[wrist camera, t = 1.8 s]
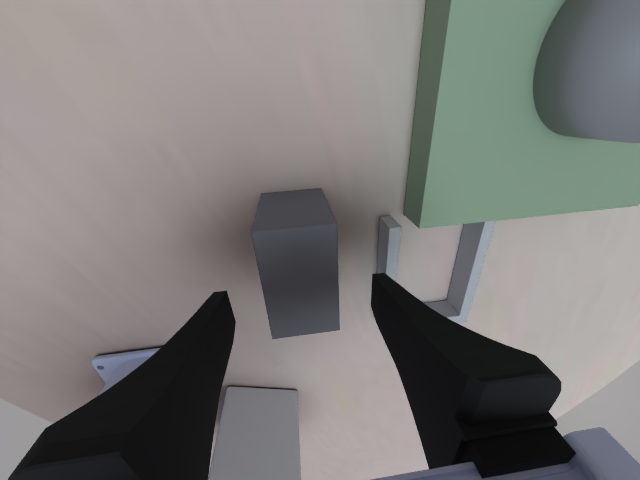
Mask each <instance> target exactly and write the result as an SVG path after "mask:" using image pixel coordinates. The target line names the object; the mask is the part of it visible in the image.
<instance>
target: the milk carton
mask: <svg viewBox="0 0 640 480" xmlns="http://www.w3.org/2000/svg"><path fill="white" fill-rule="evenodd" d="M208 480H301V466H300V443H299V419H298V395H297V391H295V390H281V389H264V388H247V387H228V388H227V390H226V395H225V400H224V404H223V409H222V414H221V419H220V424H219V428H218V433H217V438H216V443H215V448H214V453H213V457H212V462H211V467H210V472H209V477H208Z"/></svg>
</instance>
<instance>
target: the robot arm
mask: <svg viewBox="0 0 640 480" xmlns="http://www.w3.org/2000/svg"><path fill="white" fill-rule="evenodd" d="M371 307H372V310H373V313H374V317H375V320H376V323H377V325H378V327H379V330H380V332H381V334H382V336H383V338H384V341H385V343H386V345H387V347H388V349H389V351H390V354H391V356H392V358H393V360H394V362H395V365H396V367H397V369H398V372H399V375H400V377H401V380H402V383H403V386H404V389H405V392H406V395H407V398H408V401H409V404H410V407H411V410H412V413H413V416H414V420H415V423H416V426H417V429H418V432H419V436H420V439H421V442H422V446H423V449H424V453H425V456H426V460H427V463H428V467H429V469H428V470H422V471H417V472H411V473H406V474H400V475H394V476H389V477H383V478H377V479H372V480H640V464H639V463H638V462H637V461H636V460H635V459H634V458H633V457H632V456H631V455H630V454H629V453H628V452H627V451H626V450H625V449H624V448H623V447H622V446H621V445H620V444H619V443H618V442H617V441H616V440H615V439H614V438H613V437H612V436H611V435H610V434H609V433H608V432H607V431H606V429H604V428H601V427H599V428H593V429H587V430H581V431H575V432H572V433H569V434H567V435H565V436H564V437H562V436H561V434H560V433H559V432H558V431H557V430H556V429H555V426H557V421H556V420H555V419H554V418H553V417H552V415H551V414H550V413H549V410H550V408H551V407H552V405H553V404H554V402H555V401H556V399H557V398H558V396H559V394H560V392H561V381H560V380H559V378H558V377H557V376H556V375H555V374H554V373H553V372H552V371H551V370H550V369H549V368H548V367H547V366H546V365H545V364H544V363H543V362H542V361H541V360H540V359H539V358H538V357H537V356H535V355H532V354H530V353H527V352H524V351H521V350H518V349H515V348H512V347H509V346H507V345H504V344H501V343H499V342H497V341H494V340H492V339H489V338H487V337H485V336H482V335H480V334H478V333H476V332H473V331H471V330H469V329H467V328H465V327H463V326H461V325H459V324H457V323H455V322H454V321H452V320H450V319H448V318H447V317H445V316H443V315H441V314H440V313H438V312H436V311H435V310H433V309H432V308H430V307H429V306H427V305H426V304H424V303H423V302H421V301H420V300H419V299H417V298H416V297H414V296H413V295H412V294H410V293H409V292H408V291H407V290H405V289H404V288H403V287H401V286H400V285H399V284H398V283H397V282H395V281H394V280H393V279H392V278H390V277H389V276H388V275H387V274H385V273H377V274H373V276H372V295H371ZM235 323H236V321H235V318H234V315H233V311H232V308H231V304H230V301H229V297H228V294H227V291H221V292H214V293H213V294H212V295H211V296H210V297H209V298H208V299H207V300H206V302H205V303H204V304H203V305H202V306H201V307H200V308H199V309H198V311H197V312H196V313H195V314H194V315H193V316H192V317H191V318H190V319H189V320H188V322H187V323H186V324H185V325H184V326H183V327H182V328H181V329H180V330H179V331H178V332H177V333H176V334H175V335H174V336H173V337H172V338H171V339H170V340H169V341H168V342H167V343H166V344H165V345H163V346H162V347H161V348H155V349H148V350H140V351H133V352H125V353H118V354H110V355H102V356H96V357H94V359H93V360H92V361H91V364H92V365H93V367H94V368H95V370H96V371H97V372H98V374H99V375H100V376H101V378H102V379H103V381H104V382H105V383H106V384H105V385H104V387H103V389H102V390H101V392H100V393H99V395H98V396H97V397H96V398H94V399H93V400H91V401H90V402H88V403H87V404H85V405H83V406H82V407H80V408H79V409H77V410H75V411H74V412H72V413H70V414H69V415H67V416H65V417H64V418H62V419H60V420H59V421H57V422H55V423H54V424H52V425H50V426H49V427H47V428H46V429H45V430H44V431H43V432H42V434H41V435H40V436H39V438H38V439H37V440H36V442H35V443H34V444H33V446H32V447H31V449H30V450H29V451H28V453H27V454H26V455H25V457H24V458H23V459H22V461H21V462H20V463H19V465H18V466H17V467H16V469H15V470H14V471H13V473H12V474H11V475H10V477H9V479H8V480H208V474H209V466H210V458H211V449H212V442H213V435H214V427H215V420H216V414H217V408H218V402H219V396H220V392H221V387H222V383H223V379H224V376H225V372H226V368H227V364H228V360H229V356H230V353H231V349H232V345H233V339H234V332H235Z"/></svg>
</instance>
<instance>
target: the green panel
mask: <svg viewBox="0 0 640 480" xmlns="http://www.w3.org/2000/svg"><path fill="white" fill-rule="evenodd" d="M639 203H640V0H426V8H425V18H424V27H423V37H422V46H421V55H420V65H419V74H418V84H417V93H416V103H415V112H414V122H413V131H412V140H411V150H410V159H409V169H408V178H407V188H406V197H405V207H404V215H405V216H406V217H407V218H408V219H409V220H410V221H412V222H413V223H414V224H415V225H416V226H417V227H418V228H419V229H420V228H429V227H439V226H448V225H458V224H464V226H463V231H462V235H461V240H460V244H459V248H458V253H457V257H456V261H455V266H454V270H453V274H452V279H451V283H450V288H449V292H448V296H447V300H444V301H436V302H428V303H424V304H426V305H427V306H429V307H430V308H432V309H433V310H435V311H436V312H438V313H440V314H441V315H443V316H445V317H447V318H448V319H450V320H452V321H454V322H455V323H459V322H466V321H467V318H468V315H469V311H470V308H471V304H472V301H473V298H474V294H475V291H476V287H477V284H478V280H479V277H480V274H481V270H482V267H483V263H484V260H485V256H486V253H487V250H488V246H489V243H490V239H491V236H492V232H493V229H494V225H495V222H496V220H506V219H516V218H525V217H535V216H544V215H554V214H563V213H573V212H583V211H592V210H602V209H611V208H621V207H631V206H638V205H639ZM400 235H401V226H400V225H399V224H398V223H397V222H396V221H395V220H394V219H393V218H392V217H391V216H381V217H380V224H379V241H378V258H377V273H385V274H387V275H388V276H389V277H390V278H392V279H393V280H394V281H395V282H396V274H397V264H398V255H399V245H400Z"/></svg>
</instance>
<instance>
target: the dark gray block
mask: <svg viewBox="0 0 640 480" xmlns="http://www.w3.org/2000/svg"><path fill="white" fill-rule="evenodd" d="M251 235H252V240H253V245H254V250H255V254H256V259H257V264H258V269H259V274H260V279H261V284H262V289H263V294H264V299H265V304H266V309H267V314H268V319H269V324H270V329H271V334H272V339H277V338H284V337H291V336H299V335H306V334H314V333H321V332H329V331H336V330H340V324H339V286H338V248H337V223H336V220H335V218H334V216H333V214H332V211H331V209H330V207H329V205H328V202H327V200H326V198H325V196H324V193H323V191H322V189H321V188H317V189H306V190H295V191H284V192H272V193H261V197H260V201H259V204H258V208H257V212H256V216H255V219H254V223H253V227H252V230H251Z"/></svg>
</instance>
